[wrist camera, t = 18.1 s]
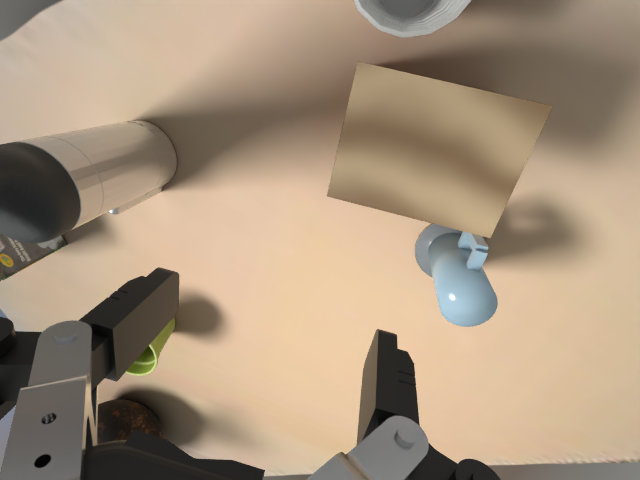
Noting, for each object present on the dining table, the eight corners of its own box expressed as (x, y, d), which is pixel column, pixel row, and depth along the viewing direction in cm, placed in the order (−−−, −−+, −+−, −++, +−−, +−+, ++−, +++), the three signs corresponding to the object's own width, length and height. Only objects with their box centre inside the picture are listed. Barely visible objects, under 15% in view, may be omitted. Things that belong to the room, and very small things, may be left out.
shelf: (458, 187, 44) (490, 238, 30) (345, 159, 45) (327, 196, 31) (495, 95, 39) (552, 106, 25) (368, 66, 40) (357, 61, 26)
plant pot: (196, 327, 62) (168, 363, 54) (161, 346, 65) (131, 383, 57) (158, 287, 59) (124, 319, 51) (125, 309, 63) (88, 342, 55)
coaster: (461, 288, 50) (462, 290, 49) (403, 262, 49) (403, 264, 49) (499, 235, 46) (501, 237, 45) (436, 207, 45) (436, 208, 45)
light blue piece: (462, 275, 48) (483, 332, 37) (422, 264, 48) (431, 318, 38) (487, 220, 44) (519, 266, 34) (443, 209, 45) (461, 251, 34)
